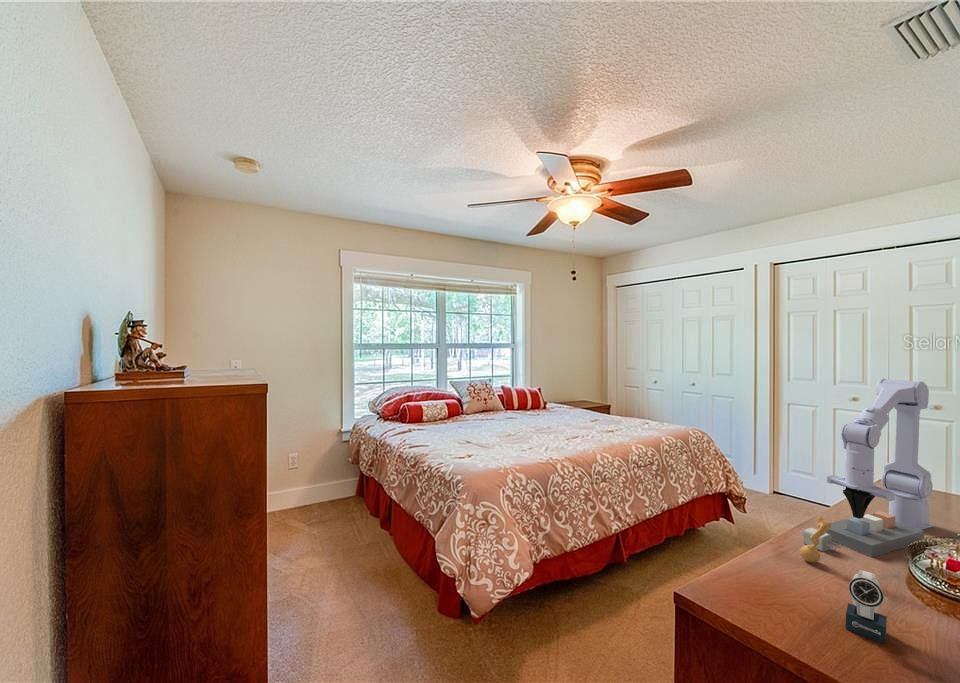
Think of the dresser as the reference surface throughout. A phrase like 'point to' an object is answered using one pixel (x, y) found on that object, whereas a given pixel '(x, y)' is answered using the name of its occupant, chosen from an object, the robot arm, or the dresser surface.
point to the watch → (866, 607)
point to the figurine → (815, 542)
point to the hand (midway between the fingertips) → (858, 517)
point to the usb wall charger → (823, 540)
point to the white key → (874, 523)
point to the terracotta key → (886, 519)
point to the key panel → (875, 538)
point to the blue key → (858, 526)
